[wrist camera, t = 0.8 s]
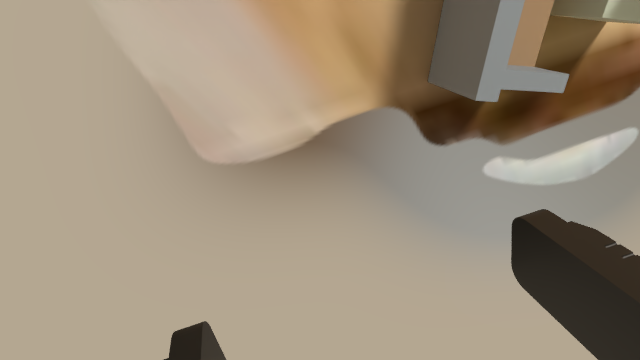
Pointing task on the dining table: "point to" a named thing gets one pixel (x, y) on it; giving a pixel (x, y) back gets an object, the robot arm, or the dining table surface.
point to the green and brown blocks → (599, 10)
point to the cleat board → (492, 48)
